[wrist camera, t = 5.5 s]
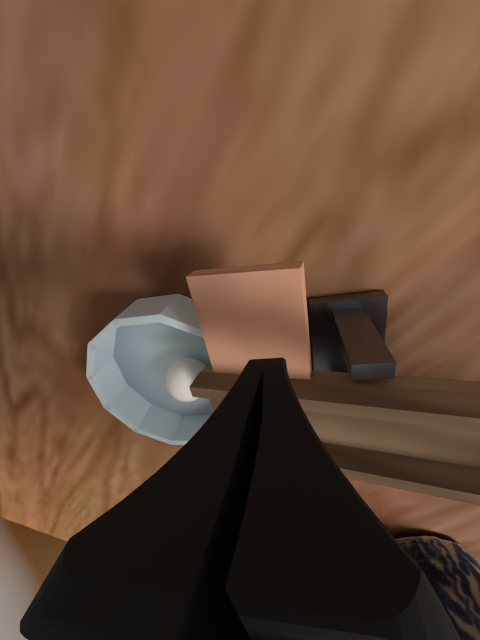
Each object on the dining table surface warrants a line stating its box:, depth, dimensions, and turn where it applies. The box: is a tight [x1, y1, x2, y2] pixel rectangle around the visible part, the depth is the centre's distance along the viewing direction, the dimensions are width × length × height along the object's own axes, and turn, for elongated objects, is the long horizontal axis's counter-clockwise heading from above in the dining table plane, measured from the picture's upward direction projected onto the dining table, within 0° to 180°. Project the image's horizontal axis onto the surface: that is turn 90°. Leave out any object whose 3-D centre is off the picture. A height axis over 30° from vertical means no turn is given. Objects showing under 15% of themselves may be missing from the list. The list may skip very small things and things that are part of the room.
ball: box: [166, 358, 205, 402], centre depth 21 cm, size 4×4×4 cm
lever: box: [186, 261, 480, 505], centre depth 13 cm, size 12×20×4 cm, turn 100°
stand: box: [308, 290, 396, 380], centre depth 18 cm, size 10×5×7 cm, turn 11°
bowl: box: [86, 294, 213, 445], centre depth 22 cm, size 13×13×4 cm
